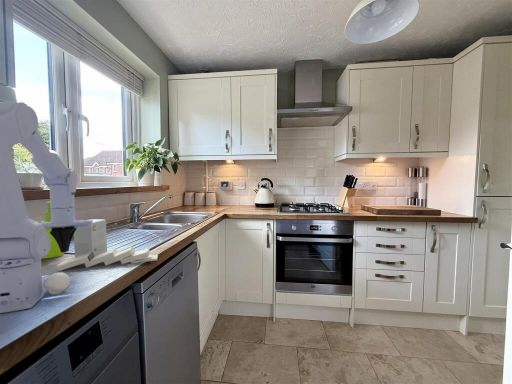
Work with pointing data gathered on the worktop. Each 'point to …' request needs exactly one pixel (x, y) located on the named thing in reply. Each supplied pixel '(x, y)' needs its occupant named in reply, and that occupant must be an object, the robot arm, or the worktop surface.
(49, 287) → the mushroom
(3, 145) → the robot arm
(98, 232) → the small box
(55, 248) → the soap dispenser
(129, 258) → the domino
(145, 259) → the domino
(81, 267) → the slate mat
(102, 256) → the domino
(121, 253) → the domino
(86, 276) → the worktop surface
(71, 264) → the domino
